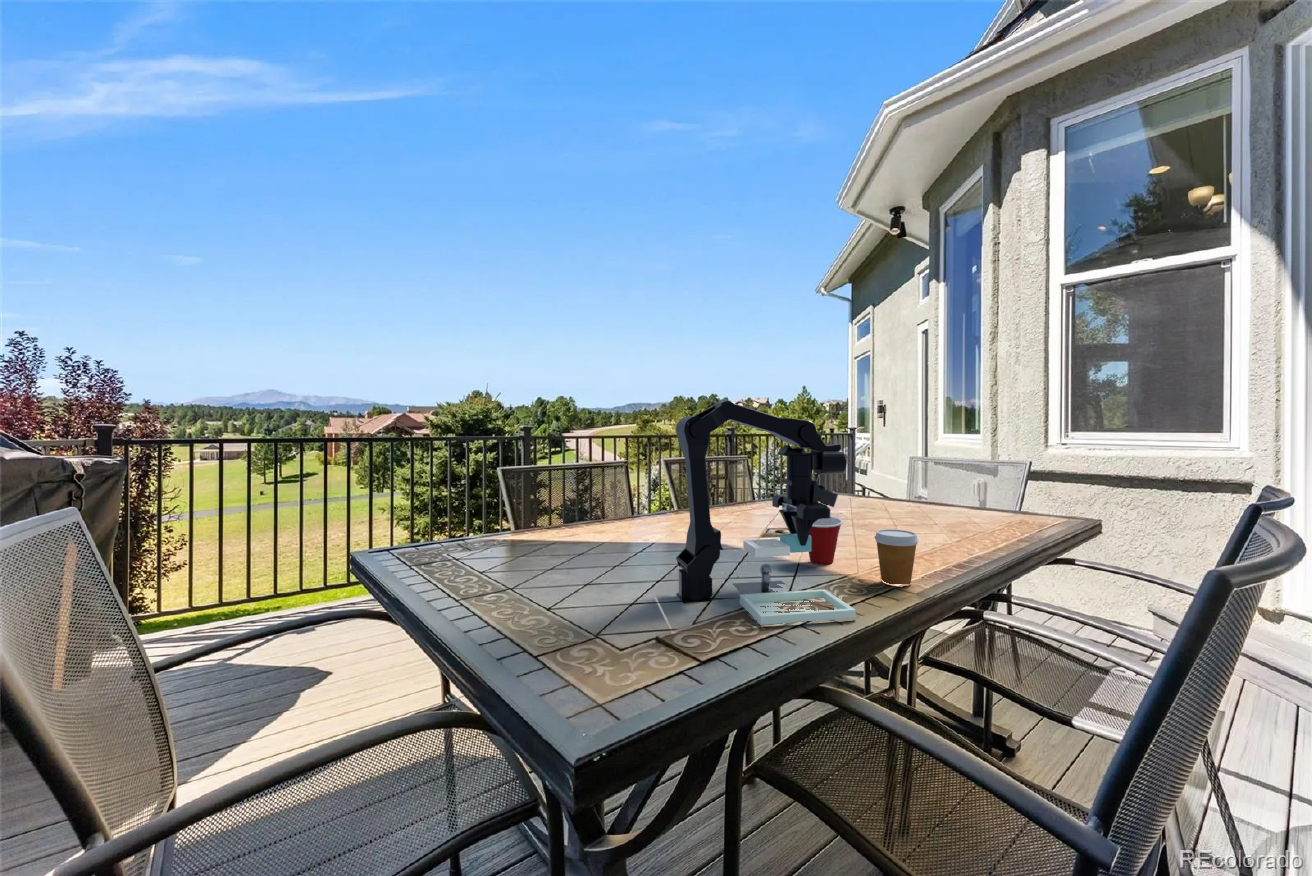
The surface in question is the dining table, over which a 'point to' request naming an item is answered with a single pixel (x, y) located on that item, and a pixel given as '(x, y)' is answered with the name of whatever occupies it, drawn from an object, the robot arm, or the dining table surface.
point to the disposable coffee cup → (896, 555)
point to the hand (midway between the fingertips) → (799, 543)
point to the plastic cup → (824, 540)
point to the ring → (776, 546)
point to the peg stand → (759, 583)
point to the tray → (772, 618)
